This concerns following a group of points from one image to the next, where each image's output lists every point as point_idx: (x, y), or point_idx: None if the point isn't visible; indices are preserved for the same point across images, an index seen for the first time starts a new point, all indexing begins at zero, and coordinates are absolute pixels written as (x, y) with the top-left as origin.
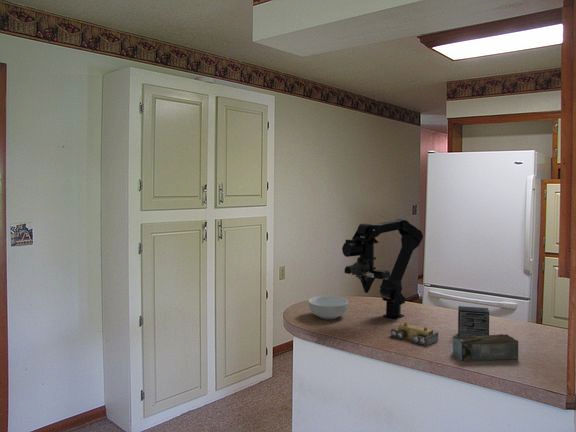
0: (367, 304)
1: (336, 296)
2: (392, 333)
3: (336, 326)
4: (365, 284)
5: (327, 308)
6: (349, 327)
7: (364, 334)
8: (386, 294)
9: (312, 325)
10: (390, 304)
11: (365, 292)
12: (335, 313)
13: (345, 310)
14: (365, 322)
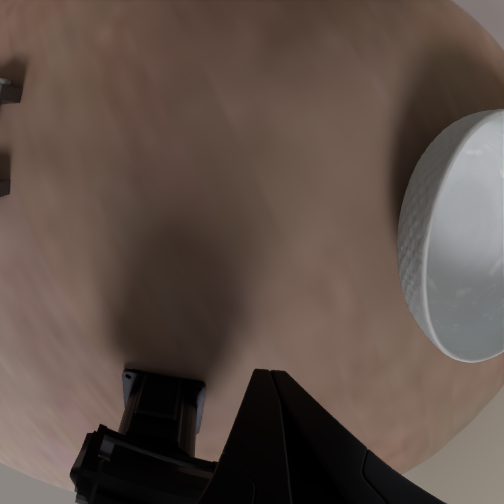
0: None
1: (491, 355)
2: (2, 79)
3: (358, 63)
4: (305, 481)
5: (485, 112)
6: (283, 77)
7: (145, 18)
8: (148, 474)
9: (453, 44)
10: (145, 429)
11: (275, 370)
12: (432, 143)
13: (401, 229)
14: (239, 230)
